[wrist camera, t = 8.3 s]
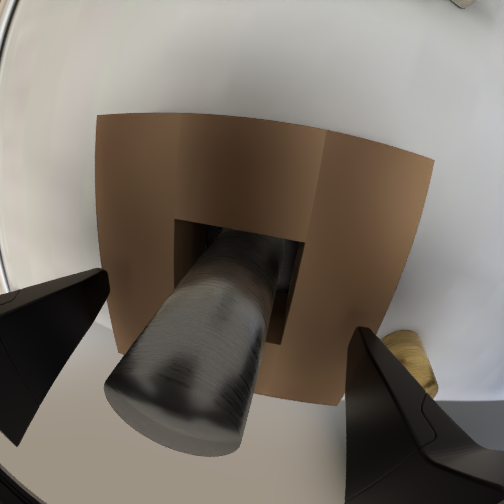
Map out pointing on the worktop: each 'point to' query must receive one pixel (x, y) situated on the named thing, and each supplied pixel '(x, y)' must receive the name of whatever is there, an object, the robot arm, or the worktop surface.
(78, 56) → the worktop surface
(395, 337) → the short pin
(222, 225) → the hole block
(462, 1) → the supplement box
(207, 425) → the long pin
